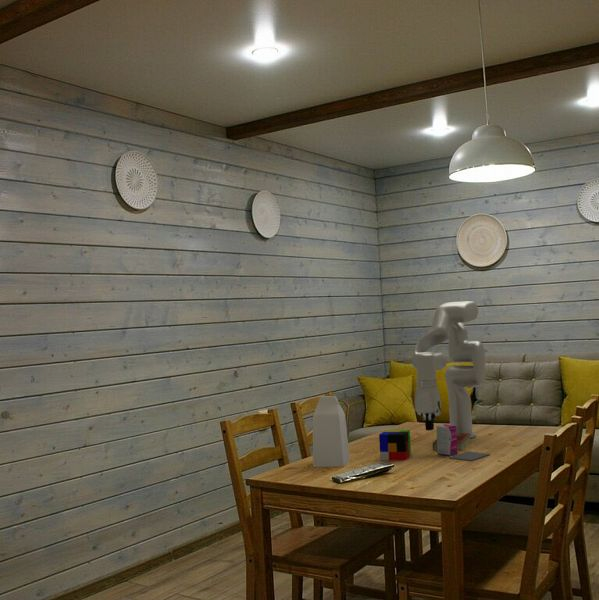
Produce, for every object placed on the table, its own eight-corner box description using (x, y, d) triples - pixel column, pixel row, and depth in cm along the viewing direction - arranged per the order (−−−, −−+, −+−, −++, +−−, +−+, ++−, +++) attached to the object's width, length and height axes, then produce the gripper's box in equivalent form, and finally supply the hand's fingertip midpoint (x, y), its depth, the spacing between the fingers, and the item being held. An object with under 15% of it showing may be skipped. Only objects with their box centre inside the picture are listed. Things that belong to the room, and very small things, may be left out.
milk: (313, 466, 283) (309, 398, 284) (320, 460, 294) (316, 395, 295) (343, 466, 280) (339, 397, 280) (349, 460, 291) (346, 394, 291)
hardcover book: (432, 451, 302) (432, 441, 302) (443, 442, 321) (442, 432, 321) (462, 452, 297) (461, 441, 297) (471, 442, 316) (470, 432, 316)
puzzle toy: (380, 460, 288) (379, 434, 288) (386, 455, 297) (385, 430, 298) (405, 460, 285) (404, 434, 285) (411, 455, 294) (409, 430, 294)
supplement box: (449, 456, 287) (447, 427, 288) (437, 454, 292) (435, 425, 292) (458, 454, 291) (456, 424, 291) (446, 452, 296) (444, 423, 296)
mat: (449, 458, 283) (449, 457, 283) (467, 452, 293) (467, 451, 293) (471, 461, 276) (471, 459, 276) (490, 455, 285) (490, 453, 285)
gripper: (406, 384, 300) (409, 430, 300) (437, 385, 290) (439, 432, 289) (417, 382, 306) (420, 427, 305) (448, 383, 295) (450, 429, 295)
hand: (429, 429), depth 297 cm, fingers closed
